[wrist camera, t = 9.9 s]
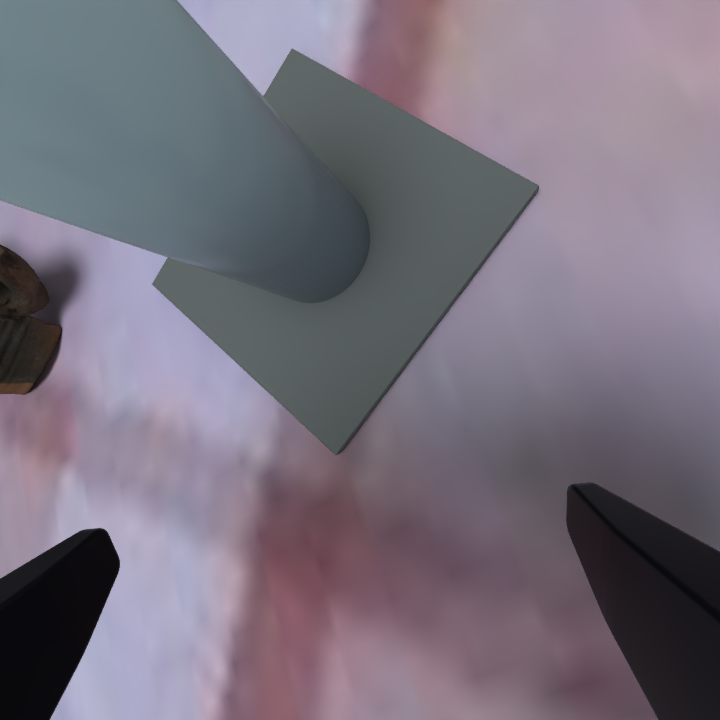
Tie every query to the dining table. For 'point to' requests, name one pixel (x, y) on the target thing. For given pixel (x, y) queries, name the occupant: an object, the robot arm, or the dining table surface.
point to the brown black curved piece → (22, 325)
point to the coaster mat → (384, 259)
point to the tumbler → (166, 147)
